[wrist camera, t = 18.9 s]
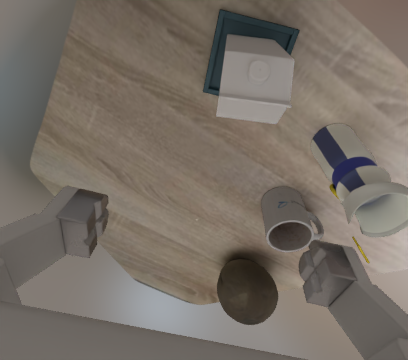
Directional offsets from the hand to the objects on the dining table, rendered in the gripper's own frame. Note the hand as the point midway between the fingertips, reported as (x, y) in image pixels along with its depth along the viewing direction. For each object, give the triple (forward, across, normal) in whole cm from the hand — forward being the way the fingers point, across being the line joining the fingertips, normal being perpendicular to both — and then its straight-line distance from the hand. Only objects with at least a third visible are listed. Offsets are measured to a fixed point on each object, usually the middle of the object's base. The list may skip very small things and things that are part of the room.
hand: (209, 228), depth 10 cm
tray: (+37, -3, 0) cm, 37 cm away
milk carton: (+37, -3, 0) cm, 37 cm away
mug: (+37, -21, +26) cm, 50 cm away
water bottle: (+37, -23, +10) cm, 45 cm away
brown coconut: (+37, -18, +48) cm, 63 cm away
